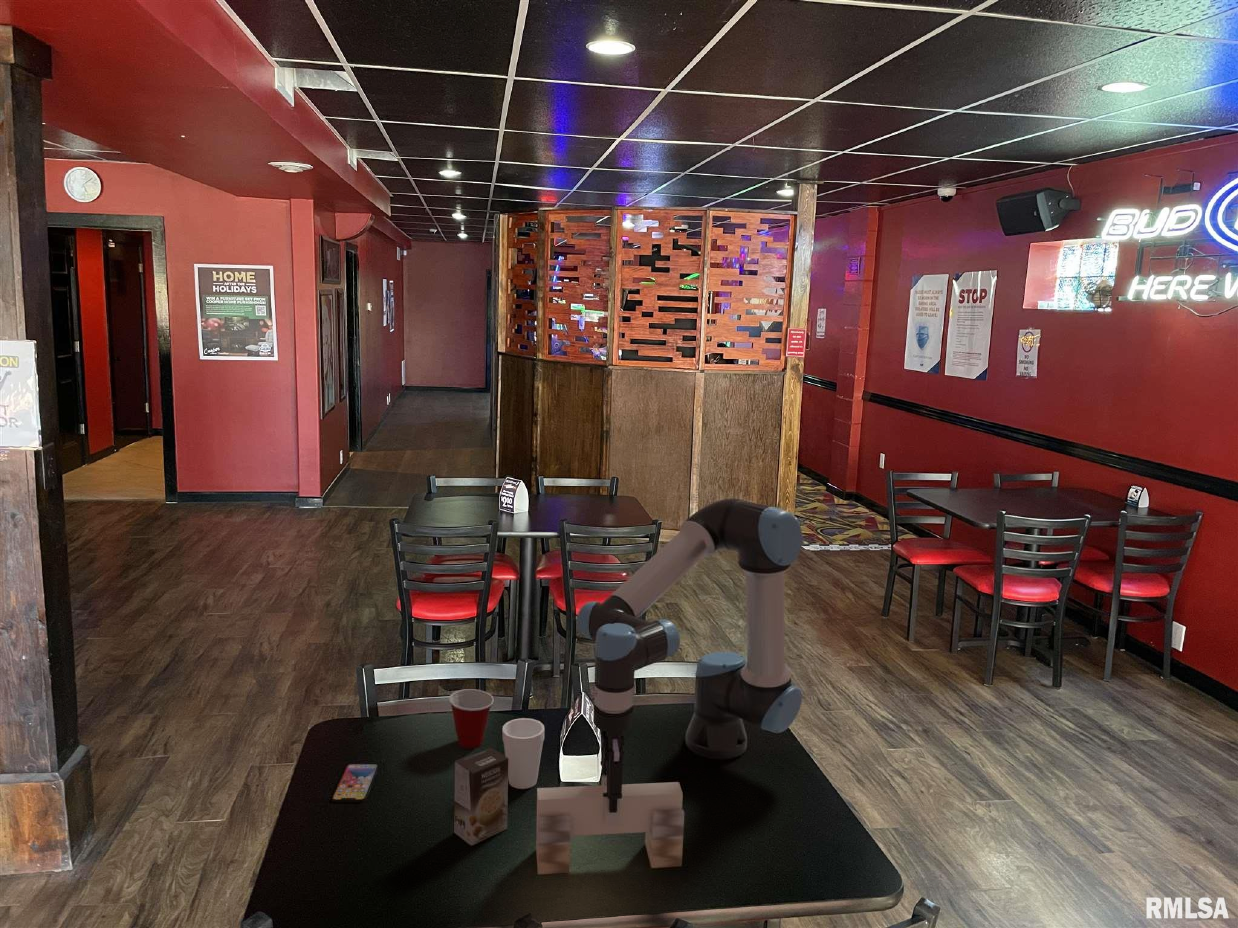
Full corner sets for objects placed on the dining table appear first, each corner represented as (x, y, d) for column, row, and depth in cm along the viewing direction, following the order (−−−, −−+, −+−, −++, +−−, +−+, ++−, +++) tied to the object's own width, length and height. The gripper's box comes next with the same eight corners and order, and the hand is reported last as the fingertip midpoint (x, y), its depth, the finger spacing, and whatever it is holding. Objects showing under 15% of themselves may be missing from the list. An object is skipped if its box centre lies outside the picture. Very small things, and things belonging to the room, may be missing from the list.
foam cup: (547, 771, 206) (548, 719, 203) (539, 794, 197) (540, 740, 194) (506, 768, 207) (507, 716, 204) (497, 790, 198) (497, 736, 195)
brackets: (674, 842, 181) (676, 790, 179) (681, 865, 174) (684, 812, 171) (536, 849, 177) (537, 796, 175) (537, 874, 170) (538, 819, 168)
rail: (676, 818, 178) (678, 781, 177) (680, 830, 174) (682, 793, 173) (536, 825, 174) (537, 788, 173) (537, 837, 170) (538, 799, 169)
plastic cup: (493, 753, 213) (493, 707, 210) (447, 755, 211) (447, 708, 209) (494, 731, 223) (494, 686, 221) (450, 732, 222) (450, 687, 220)
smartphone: (379, 763, 206) (365, 799, 191) (379, 767, 206) (365, 803, 191) (347, 763, 206) (330, 799, 191) (347, 767, 206) (330, 803, 191)
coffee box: (471, 847, 177) (471, 773, 174) (453, 832, 182) (453, 760, 179) (508, 828, 184) (509, 757, 181) (490, 815, 188) (490, 745, 185)
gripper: (588, 684, 178) (586, 789, 182) (599, 729, 160) (595, 845, 164) (626, 683, 179) (622, 787, 183) (640, 728, 161) (635, 842, 165)
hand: (609, 814), depth 174 cm, fingers open, 5 cm apart
